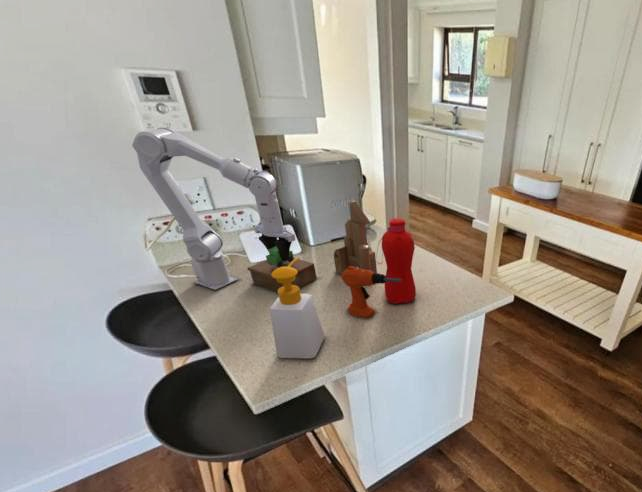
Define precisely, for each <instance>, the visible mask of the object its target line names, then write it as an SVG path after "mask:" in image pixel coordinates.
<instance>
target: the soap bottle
mask: <svg viewBox="0 0 642 492" xmlns="http://www.w3.org/2000/svg"><path fill="white" fill-rule="evenodd" d="M295 258H296V259H294V260H293V261H292V262H291V263H290V264H289V265H288V267H280V268H277V269H276V270H274V271H273V272H272V274H271V276H272V277H273V278H275V279H276V280H277V282H279V283H283V285H284V286H283V287H280V288H279V289H278V292H277V295H278V297H277V298H276V299H275V301H274V302H273V304H272V305H270V309H269V313H270V314H269V315H270V319H271V326H272V332H273V338H274V345H275V352H276V356H277V357H279V358H281V359H314V358H315V357H317V354H318V352H319V350H320V348H321V346H322V344H323V341H324V340H325V338H326V337H325V333H324V330H323V326H322V323H321V319H320V317H319V314H318V310H317V307H316V303H315V301H314V298H313V295H312V294H310V293H301V288H299V287H298V286H296V285H291V282H292V281H294V280H295V275H297V273H298V271H297V270H296V269H294V268H292V267H291V265H292V264H293V263H294V262H295V261H297V260H298V259H300V258H301V257H300V256H298V257H295ZM300 260H301V259H300Z"/></svg>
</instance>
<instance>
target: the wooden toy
mask: <svg viewBox="0 0 642 492" xmlns="http://www.w3.org/2000/svg"><path fill="white" fill-rule="evenodd" d="M348 206H349V215H350V218H349V219H347V221H346V222H345V224H344V228H345V229H344V230H345V235H344V236H343V243H344V246H341V247H338V248H336V249H335V250H334V251H333V261H334V268H335V273H337V274H339V275H341V276H342V273H343V272H344V271H345V270H346V269H347V268H348V267H350V266H353V267H355V268H359V269H363V270H371V271H373V272H376V273H378V269H377V256H376V252H375V251H374V250H373V249H372V248H371V247H370V245H369V243H368V238H367V237H368V236H367V227H366V225H370V224H371V221H370V219H369V218H368V216H367V215H366V214H365V212H364V211H363V209H362V208H361V207H360V205H359V204H358V202H357V201H356V200H352V201H349V202H348Z"/></svg>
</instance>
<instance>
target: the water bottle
mask: <svg viewBox="0 0 642 492" xmlns="http://www.w3.org/2000/svg"><path fill="white" fill-rule="evenodd" d="M388 225H389V227H387V230H386V231H385V232H384V233H383V235H382V237H381V238H380V239H379V242H378V245H377V247H379V245H380V242H381V252H382V255H383V258H384V260H385V264H386V271H385V276H386V277H388V278H395V279H401V280H402V281H401V282H387V281H386V282H385V283H384V295H385V299H386V301H387V302H389V303H391V304H405V303H406V304H407V303H411V302H413V301H415V298H416V295H417V290H416V284H415V280H414V276H413V270H412V265H413V258H414V253H415V248H416V247H415V240H414V238H413V236H412V234H411V232H410V231H409V230H407V229H406V225H408V223H407V222H406V221H405V219H404V218H399V217H394V218H391V219H390V220H389V223H388ZM378 250H379V248H377V249H376V252H378ZM384 260H382V261H381V262H380V263H379V261H378V260H376V263H377V264H378V265H382V264H383V262H384Z"/></svg>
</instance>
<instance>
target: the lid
mask: <svg viewBox="0 0 642 492" xmlns="http://www.w3.org/2000/svg"><path fill="white" fill-rule="evenodd" d="M296 258H297V257H294V258H293V260H294V259H296ZM290 263H291V262H288V261H286V262H284V263H283V265H282V266H281V267H288V265H289V264H290ZM313 266H314V267H315V263H314V262H310V261H307V260H303V259H298V260H297V261H295V262H294V263H293V264H292V265H291V267H292V268H294V269H296V270H297V271H298V273H300V272H302V271H304V270H306V269H308V268H311V267H313ZM277 268H280V267H277V266H276V265H270V264H268V263H267V259H266V260H263V261H261V262H258V263H255V264H253V265H251V266H248V267H247V270H248V271H249V272H250V271H253V272H256V273H259V274H262V275H265V276H269V277H272V276H271V274H272V272H273V271H274V270H276V269H277ZM298 273H297V274H298ZM272 278H273V277H272Z"/></svg>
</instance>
